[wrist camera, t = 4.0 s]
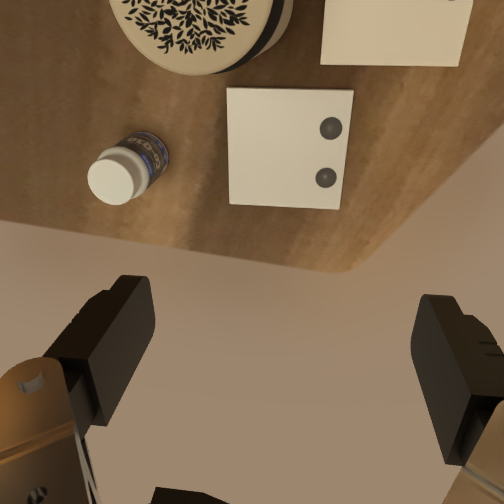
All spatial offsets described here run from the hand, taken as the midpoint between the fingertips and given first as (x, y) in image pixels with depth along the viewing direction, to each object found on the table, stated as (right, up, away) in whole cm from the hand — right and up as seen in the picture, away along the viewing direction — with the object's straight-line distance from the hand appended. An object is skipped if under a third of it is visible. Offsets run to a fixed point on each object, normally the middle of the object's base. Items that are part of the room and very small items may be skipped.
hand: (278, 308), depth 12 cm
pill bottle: (-11, +12, +28) cm, 32 cm away
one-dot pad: (+10, +22, +19) cm, 31 cm away
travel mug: (-1, +22, +21) cm, 30 cm away
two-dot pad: (+2, +11, +26) cm, 29 cm away
